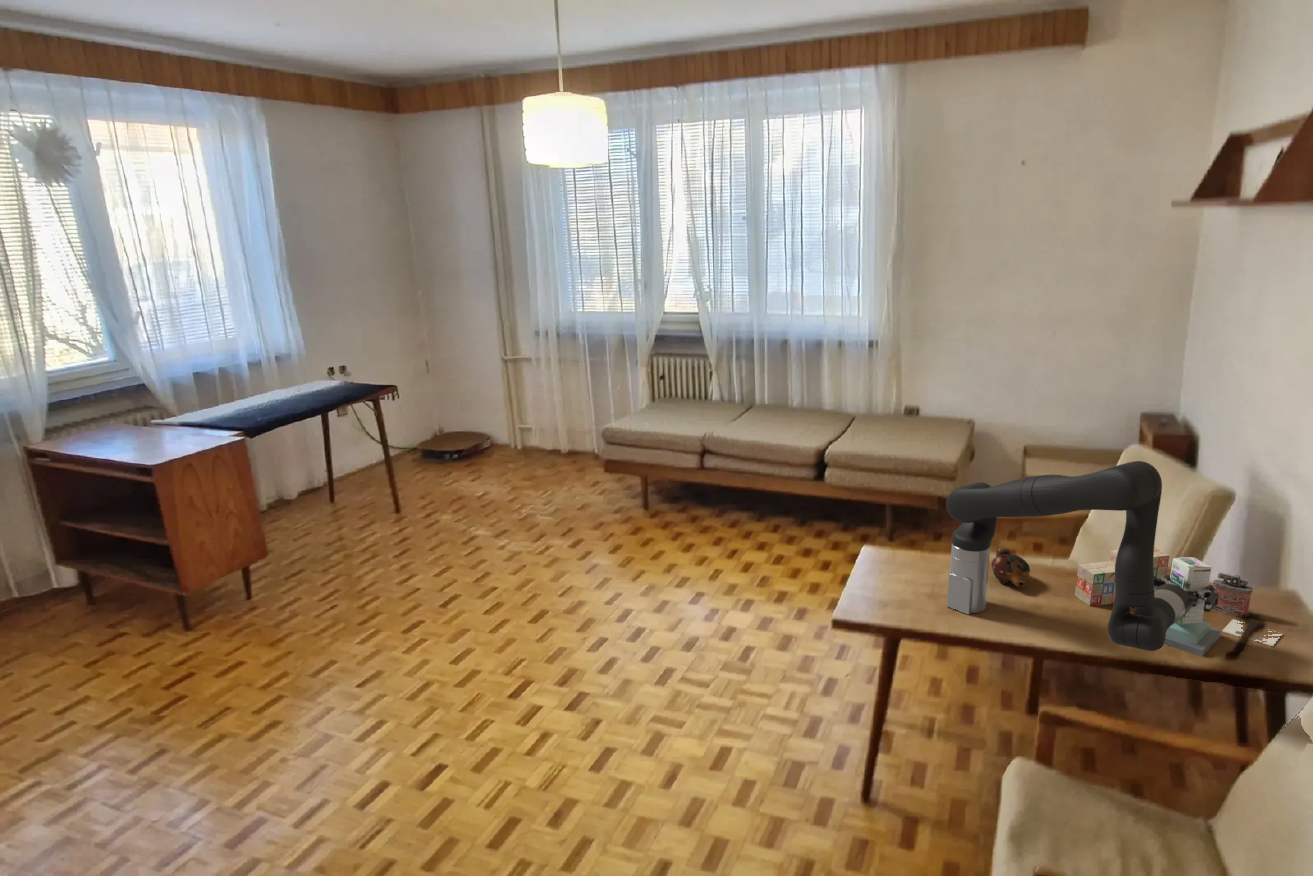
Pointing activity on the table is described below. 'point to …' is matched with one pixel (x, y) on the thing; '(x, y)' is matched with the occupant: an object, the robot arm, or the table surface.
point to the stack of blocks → (1109, 578)
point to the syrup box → (1190, 583)
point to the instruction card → (1237, 631)
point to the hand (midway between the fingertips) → (1191, 583)
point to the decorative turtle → (1010, 567)
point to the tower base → (1194, 647)
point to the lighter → (1232, 594)
